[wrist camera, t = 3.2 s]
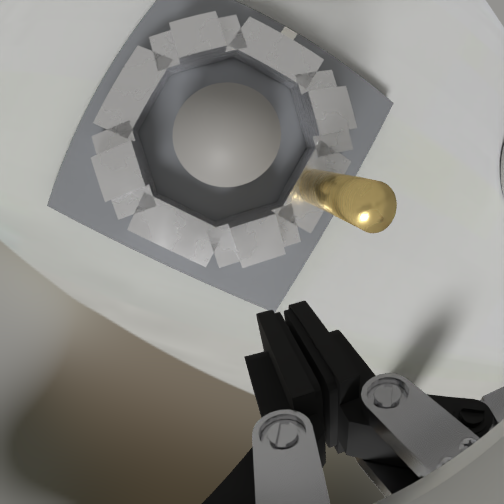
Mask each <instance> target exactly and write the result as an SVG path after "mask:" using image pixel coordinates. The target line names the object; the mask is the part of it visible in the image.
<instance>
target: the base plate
mask: <svg viewBox="0 0 504 504" xmlns="http://www.w3.org/2000/svg"><path fill="white" fill-rule="evenodd" d="M213 11H216V13H217V16H218V18H221V17H226V16H232V15H237V18H238V21H239V24H240V27H242V26H243V25H244V23H245V22H246V21H247V19H248V18H249V17H252V18H254V19H256V20H258V21H260V22H262V23H263V24H265V25H267V26H269V27H271V28H273V29H275V30H276V31H278V32H280V33H282V34H284V35H285V36H287V37H289V38H291V39H292V40H294V41H296V42H297V43H299V44H301V45H302V46H304V47H305V48H307V49H309V50H310V51H312V52H313V53H315V54H316V55H318V56H319V57H321V58H323V59H324V61H323V62H322V64H321V66H320V67H319V69H318V70H317V71H325V70H332V72H333V75H334V78H335V81H336V85H337V87H340V86H346V88H347V91H348V95H349V98H350V102H351V106H352V109H353V113H354V117H355V121H356V125H357V128H354V129H349V134H350V138H351V142H352V146H353V149H352V150H347V151H343V152H339V153H340V154H342V155H343V156H344V157H346V158H347V159H349V160H350V161H351V163H350V165H349V167H348V169H347V171H346V172H345V175H351V176H356V174H357V172H358V170H359V168H360V167H361V165H362V163H363V161H364V159H365V157H366V155H367V154H368V152H369V150H370V148H371V146H372V144H373V142H374V140H375V138H376V136H377V135H378V133H379V131H380V129H381V127H382V125H383V123H384V121H385V119H386V117H387V115H388V113H389V111H390V109H391V107H392V105H393V102H392V101H390V100H389V99H388V98H387V97H386V96H385V95H383V94H382V93H381V92H380V91H379V90H377V89H376V88H375V87H374V86H373V85H371V84H370V83H369V82H368V81H366V80H365V79H364V78H362V77H361V76H360V75H359V74H357V73H356V72H355V71H353V70H352V69H351V68H349V67H348V66H346V65H345V64H344V63H342V62H341V61H340V60H338V59H337V58H335V57H334V56H332V55H331V54H329V53H328V52H326V51H325V50H323V49H322V48H320V47H319V46H317V45H316V44H314V43H313V42H311V41H309V40H308V39H306V38H305V37H303V36H301V35H300V34H298V33H296V32H295V31H293V30H291V29H290V28H288V27H286V26H284V25H282V24H281V23H279V22H277V21H275V20H273V19H271V18H270V17H268V16H266V15H264V14H262V13H260V12H258V11H256V10H254V9H252V8H250V7H248V6H246V5H243V4H241V3H239V2H237V1H235V0H157V1H156V2H155V3H154V4H153V6H152V7H151V8H150V9H149V11H148V12H147V13H146V15H145V16H144V17H143V19H142V20H141V21H140V23H139V24H138V25H137V27H136V28H135V29H134V31H133V32H132V34H131V35H130V37H129V38H128V39H127V41H126V42H125V44H124V45H123V47H122V48H121V50H120V51H119V53H118V55H117V56H116V58H115V59H114V61H113V63H112V64H111V66H110V67H109V69H108V71H107V72H106V74H105V76H104V78H103V79H102V81H101V83H100V85H99V86H98V88H97V90H96V92H95V94H94V95H93V97H92V99H91V101H90V103H89V105H88V107H87V109H86V111H85V113H84V115H83V117H82V119H81V121H80V123H79V125H78V127H77V130H76V132H75V134H74V136H73V138H72V141H71V143H70V145H69V148H68V150H67V152H66V155H65V157H64V160H63V162H62V165H61V167H60V170H59V173H58V175H57V178H56V181H55V184H54V187H53V189H52V192H51V195H50V198H49V201H48V205H47V206H49V207H51V208H53V209H55V210H56V211H58V212H60V213H62V214H64V215H66V216H68V217H70V218H72V219H74V220H75V221H77V222H79V223H81V224H83V225H85V226H87V227H89V228H91V229H93V230H95V231H97V232H99V233H101V234H103V235H105V236H107V237H109V238H111V239H113V240H115V241H117V242H119V243H121V244H123V245H125V246H127V247H129V248H131V249H133V250H135V251H137V252H140V253H142V254H144V255H146V256H148V257H150V258H152V259H154V260H156V261H158V262H161V263H163V264H165V265H167V266H169V267H171V268H173V269H176V270H178V271H180V272H182V273H184V274H187V275H189V276H191V277H193V278H195V279H198V280H200V281H202V282H204V283H207V284H209V285H211V286H213V287H216V288H218V289H220V290H222V291H225V292H227V293H229V294H232V295H234V296H236V297H238V298H241V299H243V300H245V301H248V302H250V303H253V304H255V305H257V306H260V307H262V308H264V309H267V310H273V311H274V313H275V311H276V310H277V308H278V307H279V305H280V303H281V302H282V300H283V299H284V297H285V295H286V294H287V292H288V291H289V289H290V287H291V286H292V284H293V283H294V281H295V279H296V278H297V276H298V274H299V273H300V271H301V269H302V268H303V266H304V264H305V263H306V261H307V260H308V258H309V256H310V255H311V253H312V251H313V249H314V248H315V246H316V244H317V243H318V241H319V239H320V238H321V236H322V234H323V232H324V231H325V229H326V227H327V226H328V224H329V222H330V220H331V219H332V217H333V215H332V214H330V213H328V212H326V211H324V212H323V213H322V215H321V217H320V219H319V220H318V222H317V224H316V226H315V227H314V229H313V231H312V232H311V233H309V232H307V231H305V230H303V229H302V228H300V227H298V226H297V227H298V232H299V236H300V240H301V242H298V243H295V244H292V245H289V246H286V247H284V249H285V253H286V254H285V255H282V256H279V257H276V258H273V259H270V260H266V261H263V262H260V263H257V264H254V265H251V266H248V267H245V268H242V266H241V263H240V262H237V263H233V264H230V265H227V266H224V267H221V268H219V266H218V263H217V260H216V257H215V254H214V253H213V255H212V257H211V259H210V261H209V263H208V264H207V266H206V267H204V266H202V265H200V264H198V263H196V262H193V261H191V260H189V259H187V258H185V257H183V256H181V255H178V254H176V253H174V252H172V251H170V250H168V249H166V248H164V247H162V246H159V245H157V244H155V243H153V242H151V241H149V240H147V239H145V238H143V237H141V236H139V235H137V234H135V233H133V232H131V231H128V230H127V229H128V227H129V224H130V222H131V220H132V218H133V215H134V214H133V215H130V216H127V217H125V218H122V219H119V220H118V218H117V215H116V212H115V209H114V207H113V204H112V201H111V200H109V201H107V202H105V201H104V198H103V195H102V192H101V189H100V186H99V183H98V180H97V177H96V173H95V170H94V167H93V164H92V160H91V157H93V156H95V155H97V154H96V151H95V147H94V144H93V140H92V136H94V135H96V134H98V133H100V132H103V131H105V130H107V129H105V128H103V127H100V126H98V125H96V124H94V123H93V122H94V120H95V118H96V116H97V114H98V112H99V110H100V108H101V106H102V104H103V102H104V100H105V99H106V97H107V95H108V93H109V91H110V90H111V88H112V86H113V84H114V83H115V81H116V79H117V77H118V76H119V74H120V72H121V71H122V69H123V67H124V66H125V64H126V63H127V61H128V60H129V58H130V56H131V55H132V53H133V52H134V50H135V49H136V47H137V46H141V47H144V48H146V49H149V50H151V51H152V47H151V43H150V39H149V37H150V36H153V35H156V34H160V33H163V32H166V31H169V30H171V29H170V25H169V22H173V21H176V20H180V19H183V18H187V17H191V16H195V15H199V14H204V13H208V12H213ZM138 133H139V137H140V140H141V144H142V147H143V150H144V153H145V157H146V160H147V163H148V166H149V169H150V173H151V176H152V179H153V182H154V185H155V188H156V191H157V193H159V194H161V195H163V196H165V197H167V198H169V199H171V200H173V201H175V202H177V203H179V204H181V205H183V206H185V207H187V208H189V209H191V210H193V211H195V212H197V213H199V214H201V215H203V216H205V217H207V218H209V219H211V220H213V221H217V220H220V219H223V218H227V217H230V216H233V215H236V214H239V213H242V212H246V211H249V210H252V209H255V208H259V207H262V206H265V205H269V204H272V203H275V202H276V201H277V200H278V198H279V196H280V194H281V193H282V191H283V189H284V187H285V185H286V184H287V182H288V180H289V178H290V177H291V175H292V173H293V171H294V170H295V168H296V166H297V164H298V163H299V161H300V159H301V157H302V156H303V154H304V152H305V150H306V144H305V140H304V136H303V132H302V129H301V125H300V121H299V118H298V114H297V110H296V107H295V103H294V100H293V97H292V93H291V90H290V88H288V87H286V86H285V85H283V84H281V83H280V82H278V81H276V80H275V79H273V78H271V77H269V76H268V75H266V74H264V73H262V72H260V71H259V70H257V69H255V68H253V67H251V66H249V65H248V64H246V63H244V62H242V61H240V60H238V59H236V58H231V59H227V60H222V61H218V62H214V63H210V64H206V65H202V66H199V67H195V68H192V69H188V70H185V71H181V72H178V73H175V74H172V75H170V77H169V78H168V80H167V81H166V83H165V85H164V86H163V88H162V90H161V91H160V93H159V95H158V96H157V98H156V100H155V102H154V103H153V105H152V107H151V109H150V110H149V112H148V114H147V116H146V118H145V119H144V121H143V123H142V125H141V127H140V129H139V131H138Z"/></svg>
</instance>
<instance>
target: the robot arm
mask: <svg viewBox="0 0 504 504" xmlns="http://www.w3.org/2000/svg"><path fill="white" fill-rule="evenodd" d="M501 185H502V191H503V195H504V146H503V150H502V156H501ZM256 315H257V321H258V325H259V330H260V335H261V339H262V344H263V349H264V352H261V353H257V354H253V355H249V356H246V357H245V361H246V364H247V368H248V372H249V375H250V379H251V383H252V386H253V390H254V393H255V397H256V400H257V404H258V407H259V411H260V414H261V417H262V418H261V419H260V420H259V421H258V422H257V423H256V425H255V427H254V428H253V434H252V441H253V447H252V448H251V449H250V451H249V452H248V453H247V454H246V455H245V457H244V458H243V459H242V460H241V461H240V462H239V464H238V465H237V466H236V467H235V468H234V469H233V471H232V472H231V473H230V474H229V475H228V476H227V477H226V479H225V480H224V481H223V482H222V483H221V484H220V485H219V486H218V487H217V488H216V490H215V491H214V492H213V493H212V494H211V495H210V496H209V497H208V498H207V499H206V500H205V501H204V502H203V503H202V504H330V501H329V496H328V492H327V487H326V483H325V478H324V474H323V469H322V468H323V466H324V464H325V463H326V455H325V454H326V452H325V442H326V444H327V446H328V447H333V446H334V447H335V449H336V451H337V453H338V454H339V453H342V452H344V451H345V453H346V455H349V456H353V457H355V459H356V461H357V463H358V464H359V465H360V467H361V468H362V469H363V470H364V472H365V473H366V474H367V475H368V477H369V478H370V479H371V480H372V481H373V483H374V484H375V485H376V486H377V487H378V489H379V490H380V491H381V492H382V493H383V494H384V496H385V497H386V498H384V499H382V500H379V501H377V502H375V503H373V504H504V387H502V388H500V389H498V390H495V391H493V392H491V393H489V394H487V395H485V396H483V397H482V399H481V400H480V401H479V400H475V399H466V398H455V397H445V396H436V395H428V394H425V393H424V392H423V391H422V390H421V389H419V388H418V387H417V386H416V385H415V384H413V383H412V382H411V381H410V380H408V379H407V378H405V377H404V376H402V375H398V374H393V373H385V374H380V375H377V376H375V374H374V373H373V372H372V371H371V369H370V368H369V367H368V366H367V364H366V363H365V362H364V360H363V359H362V358H361V357H360V355H359V354H358V353H357V352H356V350H355V349H354V348H353V347H352V345H351V344H350V343H349V342H348V340H347V339H346V338H345V337H344V335H343V334H342V333H341V332H340V331H339V330H335V331H332V332H328V330H327V329H326V328H325V326H324V325H323V324H322V322H321V321H320V319H319V318H318V317H317V315H316V314H315V313H314V311H313V310H312V309H311V307H310V306H309V305H308V303H307V302H306V301H302V302H298V303H295V304H291V305H289V310H285V311H284V316H285V320H284V319H283V317H282V315H281V313H280V312H278V313H274V311H273V310H269V311H265V312H261V313H257V314H256Z"/></svg>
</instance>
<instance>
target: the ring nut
mask: <svg viewBox="0 0 504 504" xmlns="http://www.w3.org/2000/svg"><path fill="white" fill-rule="evenodd" d="M169 25H170V29H171V30H169V31H166V32H163V33H160V34H156V35H153V36H150V37H149V39H150V43H151V47H152V51H151V50H149V49H146V48H144V47H141V46H137V47H136V49H135V50H134V52H133V53H132V55H131V56H130V58H129V60H128V61H127V63H126V64H125V66H124V67H123V69H122V71H121V72H120V74H119V76H118V77H117V79H116V81H115V83H114V84H113V86H112V88H111V90H110V91H109V93H108V95H107V97H106V99H105V100H104V102H103V104H102V106H101V108H100V110H99V112H98V114H97V116H96V118H95V120H94V122H93V123H94V124H96V125H98V126H100V127H103V128H105V129H107V130H105V131H103V132H100V133H98V134H96V135H94V136H92V140H93V144H94V147H95V151H96V154H97V155H95V156H93V157H91V160H92V164H93V167H94V170H95V173H96V177H97V180H98V183H99V186H100V189H101V192H102V195H103V198H104V201H105V202H107V201H109V200H111V201H112V204H113V207H114V209H115V212H116V215H117V218H118V220H119V219H122V218H125V217H127V216H130V215H133V214H134V215H133V218H132V220H131V222H130V224H129V227H128V229H127V230H128V231H131V232H133V233H135V234H137V235H139V236H141V237H143V238H145V239H147V240H149V241H151V242H153V243H155V244H157V245H159V246H162V247H164V248H166V249H168V250H170V251H172V252H174V253H176V254H178V255H181V256H183V257H185V258H187V259H189V260H191V261H193V262H196V263H198V264H200V265H202V266H204V267H206V266H207V264H208V263H209V261H210V259H211V257H212V255H213V253H214V254H215V257H216V260H217V263H218V266H219V268H221V267H224V266H227V265H230V264H233V263H237V262H240V263H241V266H242V268H245V267H248V266H251V265H254V264H257V263H260V262H263V261H266V260H270V259H273V258H276V257H279V256H282V255H285V254H286V253H285V249H284V247H286V246H289V245H292V244H295V243H298V242H301V240H300V236H299V232H298V227H300V228H302V229H303V230H305V231H307V232H309V233H311V232H312V231H313V229H314V227H315V226H316V224H317V222H318V220H319V219H320V217H321V215H322V213H323V212H324V211H326V212H328V213H330V214H332V215H334V216H336V217H338V218H340V219H342V220H344V221H346V222H348V223H350V224H352V225H354V226H356V227H358V228H360V229H362V230H364V231H365V232H368V233H378V232H381V231H383V230H384V229H386V228H387V227H388V226H389V225H390V223H391V222H392V220H393V218H394V216H395V213H396V206H397V204H396V197H395V194H394V192H393V190H392V189H391V188H390V187H389V186H388V185H387V184H386V183H383V182H380V181H376V180H371V179H366V178H361V177H356V176H351V175H345V172H346V171H347V169H348V167H349V165H350V163H351V161H350V160H349V159H347V158H346V157H344V156H343V155H342V154H340V153H339V152H343V151H347V150H352V149H353V146H352V142H351V138H350V134H349V129H354V128H357V125H356V121H355V117H354V113H353V109H352V106H351V102H350V98H349V95H348V91H347V88H346V86H340V87H337V85H336V81H335V78H334V75H333V72H332V70H325V71H317V70H318V69H319V67H320V66H321V64H322V62H323V61H324V59H323V58H321V57H319V56H318V55H316V54H315V53H313V52H312V51H310V50H309V49H307V48H305V47H304V46H302V45H301V44H299V43H297V42H296V41H294V40H292V39H291V38H289V37H287V36H285V35H284V34H282V33H280V32H278V31H276V30H275V29H273V28H271V27H269V26H267V25H265V24H263V23H262V22H260V21H258V20H256V19H254V18H252V17H249V18H248V19H247V21H246V22H245V23H244V25H243V26H242V27H240V24H239V21H238V18H237V15H232V16H226V17H221V18H218V16H217V13H216V11H213V12H208V13H204V14H199V15H195V16H191V17H187V18H183V19H180V20H176V21H173V22H169ZM231 58H236V59H238V60H240V61H242V62H244V63H246V64H248V65H249V66H251V67H253V68H255V69H257V70H259V71H260V72H262V73H264V74H266V75H268V76H269V77H271V78H273V79H275V80H276V81H278V82H280V83H281V84H283V85H285V86H286V87H288V88H290V90H291V93H292V97H293V100H294V103H295V107H296V110H297V114H298V118H299V121H300V125H301V129H302V132H303V136H304V140H305V144H306V150H305V152H304V154H303V156H302V157H301V159H300V161H299V163H298V164H297V166H296V168H295V170H294V171H293V173H292V175H291V177H290V178H289V180H288V182H287V184H286V185H285V187H284V189H283V191H282V193H281V194H280V196H279V198H278V200H277V201H276V202H275V203H272V204H269V205H265V206H262V207H259V208H255V209H252V210H249V211H246V212H242V213H239V214H236V215H233V216H230V217H227V218H223V219H220V220H217V221H213V220H211V219H209V218H207V217H205V216H203V215H201V214H199V213H197V212H195V211H193V210H191V209H189V208H187V207H185V206H183V205H181V204H179V203H177V202H175V201H173V200H171V199H169V198H167V197H165V196H163V195H161V194H159V193H157V191H156V188H155V185H154V182H153V179H152V176H151V173H150V169H149V166H148V163H147V160H146V157H145V153H144V150H143V147H142V144H141V140H140V137H139V133H138V131H139V129H140V127H141V125H142V123H143V121H144V119H145V118H146V116H147V114H148V112H149V110H150V109H151V107H152V105H153V103H154V102H155V100H156V98H157V96H158V95H159V93H160V91H161V90H162V88H163V86H164V85H165V83H166V81H167V80H168V78H169V77H170V75H172V74H175V73H178V72H181V71H185V70H188V69H192V68H195V67H199V66H202V65H206V64H210V63H214V62H218V61H222V60H227V59H231ZM297 226H298V227H297Z"/></svg>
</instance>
